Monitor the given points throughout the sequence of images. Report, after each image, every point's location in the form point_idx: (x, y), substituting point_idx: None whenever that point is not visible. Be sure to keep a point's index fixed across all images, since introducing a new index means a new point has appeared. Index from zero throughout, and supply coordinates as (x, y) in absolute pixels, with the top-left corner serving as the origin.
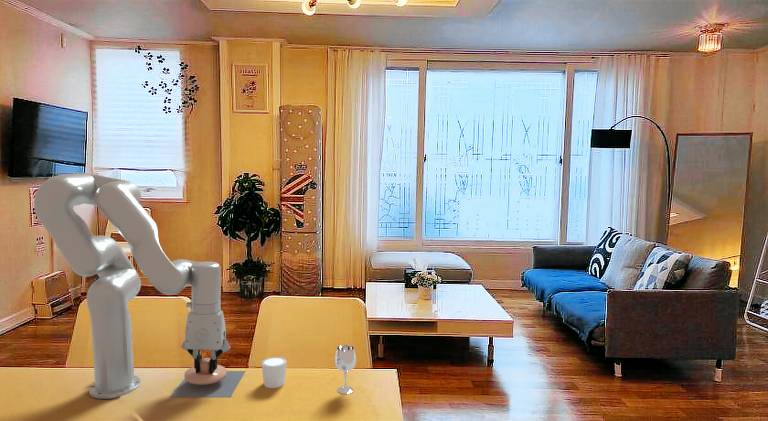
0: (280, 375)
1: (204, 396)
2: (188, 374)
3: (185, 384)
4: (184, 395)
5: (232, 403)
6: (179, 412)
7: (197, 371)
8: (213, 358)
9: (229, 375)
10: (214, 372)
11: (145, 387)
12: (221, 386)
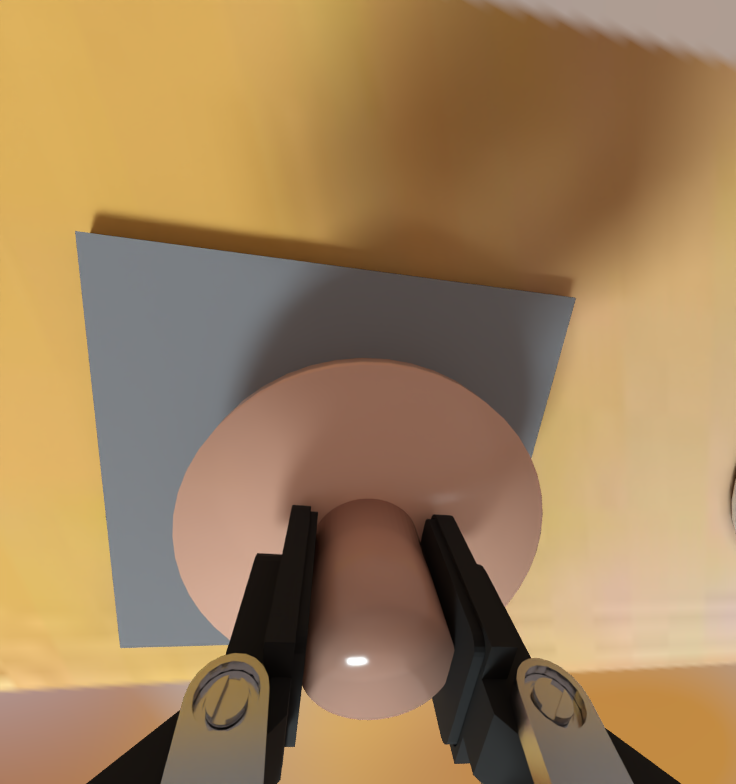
0: None
1: (318, 274)
2: (508, 500)
3: None
4: (475, 309)
5: (39, 145)
6: (471, 38)
7: (438, 521)
8: (240, 684)
9: None
10: (283, 543)
11: (702, 467)
12: None
